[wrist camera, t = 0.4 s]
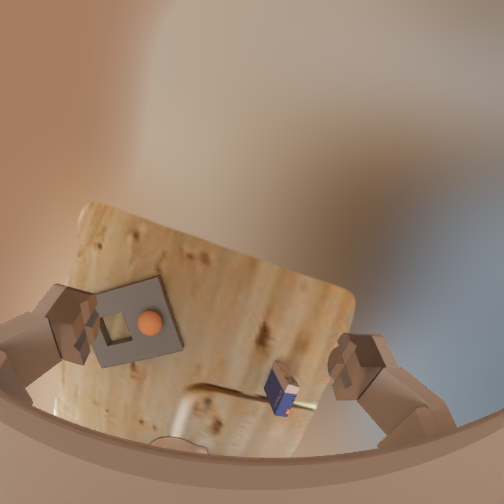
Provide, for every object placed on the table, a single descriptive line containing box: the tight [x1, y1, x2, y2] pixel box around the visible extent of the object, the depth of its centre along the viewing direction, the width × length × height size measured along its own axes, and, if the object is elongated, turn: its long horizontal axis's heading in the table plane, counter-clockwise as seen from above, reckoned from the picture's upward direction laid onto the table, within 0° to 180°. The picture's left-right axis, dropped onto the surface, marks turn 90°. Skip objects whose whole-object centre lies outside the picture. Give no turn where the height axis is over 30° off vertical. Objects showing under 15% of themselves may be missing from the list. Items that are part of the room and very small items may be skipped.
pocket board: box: [91, 275, 184, 368], centre depth 56 cm, size 16×20×3 cm
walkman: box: [264, 361, 300, 417], centre depth 57 cm, size 8×3×12 cm, turn 162°
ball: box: [137, 311, 162, 336], centre depth 52 cm, size 5×5×5 cm
